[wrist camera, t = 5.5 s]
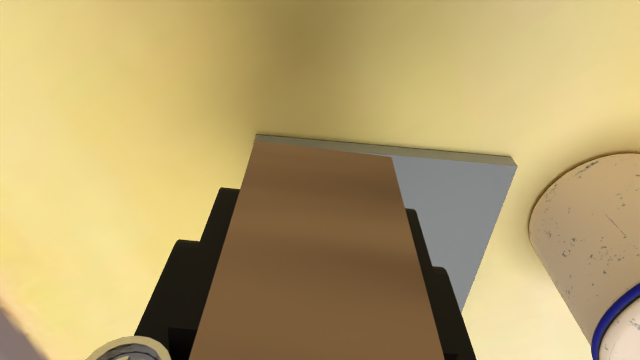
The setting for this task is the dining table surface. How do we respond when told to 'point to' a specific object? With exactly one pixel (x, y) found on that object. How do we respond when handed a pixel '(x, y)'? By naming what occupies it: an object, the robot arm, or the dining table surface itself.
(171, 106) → the dining table surface
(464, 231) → the slate board
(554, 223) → the teacup with lid
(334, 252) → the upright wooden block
